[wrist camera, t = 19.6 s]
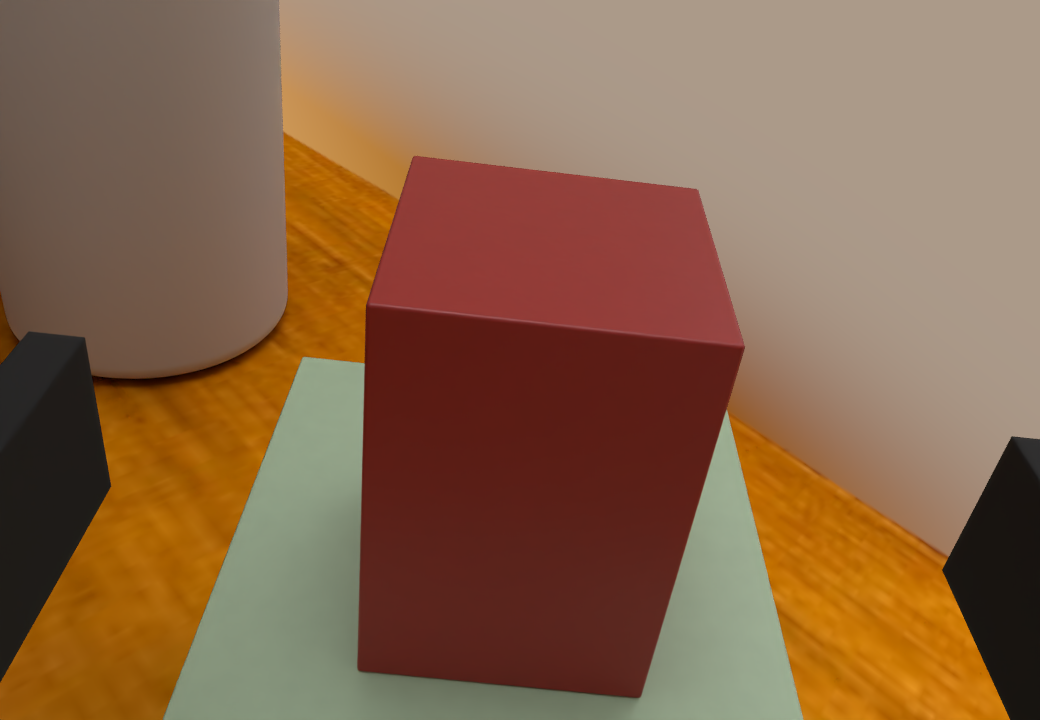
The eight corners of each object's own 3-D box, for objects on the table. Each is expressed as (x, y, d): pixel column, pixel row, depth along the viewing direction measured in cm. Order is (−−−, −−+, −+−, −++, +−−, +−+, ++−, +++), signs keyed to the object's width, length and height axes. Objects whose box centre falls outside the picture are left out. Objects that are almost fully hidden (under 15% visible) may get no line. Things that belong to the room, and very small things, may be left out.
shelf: (306, 563, 34) (302, 355, 29) (667, 599, 34) (725, 401, 29) (149, 1109, 21) (90, 903, 16) (738, 1154, 21) (866, 969, 16)
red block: (396, 479, 25) (412, 154, 20) (624, 503, 25) (698, 188, 20) (356, 672, 20) (365, 303, 15) (641, 699, 20) (746, 346, 15)
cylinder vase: (-47, 307, 44) (-223, -366, 30) (180, 225, 53) (125, -325, 39) (119, 425, 39) (-2, -328, 25) (341, 313, 47) (345, -291, 33)
